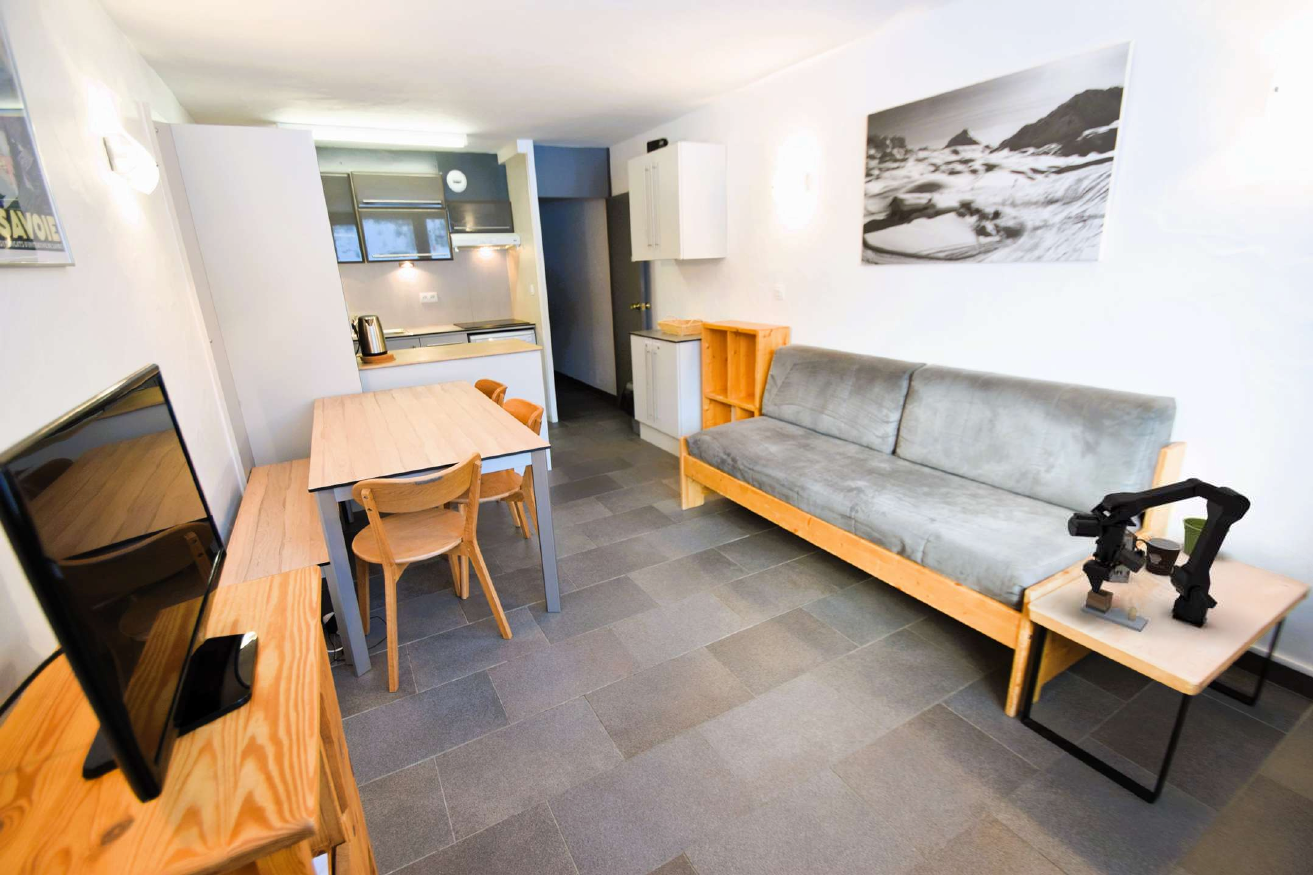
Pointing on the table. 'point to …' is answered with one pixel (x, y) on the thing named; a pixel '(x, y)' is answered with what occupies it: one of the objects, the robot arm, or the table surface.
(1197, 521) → the plant pot
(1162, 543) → the coffee mug
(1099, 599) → the sleeve
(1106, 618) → the pin board
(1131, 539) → the coffee box
